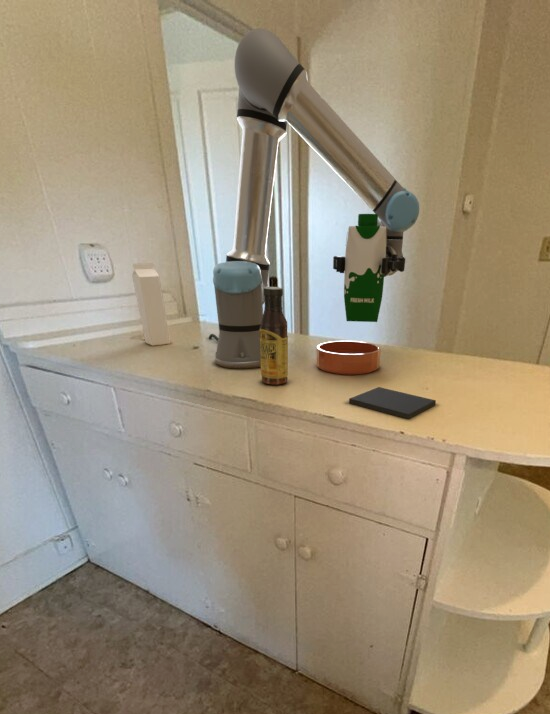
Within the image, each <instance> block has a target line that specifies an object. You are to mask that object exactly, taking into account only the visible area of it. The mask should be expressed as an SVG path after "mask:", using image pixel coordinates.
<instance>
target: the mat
mask: <svg viewBox="0 0 550 714" xmlns="http://www.w3.org/2000/svg"><path fill="white" fill-rule="evenodd" d="M436 402H437V400H436V399H431V398H427V397H423V396H420V395H414V394H411V393H406V392H402V391H398V390H394V389H389V388H385V387H381V386H378V387H375V388H372V389H370V390H367V391H364V392H362V393H360V394H357V395H354V396H352V397H349V399H348V403H349V404H351V405H354V406H359V407H361V408H366V409H369V410H374V411H375V412H376V411H377V412H380V413H384V414H388V415H392V416H395V417H398V418H403V419H406V420H409V419H412V418H413V417H415V416H417V415H419V414H421V413H423V412H425V411H426V410H429V409H430V408H432V407H434V406H436Z"/></svg>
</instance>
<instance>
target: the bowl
mask: <svg viewBox="0 0 550 714" xmlns="http://www.w3.org/2000/svg"><path fill="white" fill-rule="evenodd" d="M380 361H381V346H379V345H378V344H375V343H371V342H365V341H358V340H334V341H327V342H323V343H320V344H318V345H316V366H317V367H318V369H320V370H321V371H323V372H326V373H330V374H335V375H346V376H350V375H351V376H352V375H353V376H355V375H365V374H370V373H373V372H375V371H377V369H379V368H380V363H381V362H380Z"/></svg>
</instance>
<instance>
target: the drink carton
mask: <svg viewBox="0 0 550 714" xmlns="http://www.w3.org/2000/svg"><path fill="white" fill-rule="evenodd" d="M357 219H358V220H357V225H348V229H347V233H346V236H347V238H346V239H345V243H346V244H345V253H344V254H345V255H344V256H345V271H344V276H343V277H344V279H343V300H344V309H345V319H346V322H357V323H358V322H359V323H361V322H363V323H365V322H366V323H378V320H379V315H380V311H381V310H380V309H381V306H382V300H383V295H384V283H385V277H384V273H381V270H382V258H386V247H387V233H386V227H383V226H377V224H378V214H375V213H358V214H357Z"/></svg>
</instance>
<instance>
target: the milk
mask: <svg viewBox="0 0 550 714" xmlns="http://www.w3.org/2000/svg"><path fill="white" fill-rule="evenodd" d="M132 266H133V272H132V274H131V277H132V281H133V287H134V291H135V297H136V301H137V306H138V311H139V317H140V320H141V321H140V322H141V326H142V331H143V336H144V341H145V343H146V344H148V345H150V346H152V347H153V346H160V345H162V346H163V345H169V344H171V337H170V331H169V325H168V319H167V313H166V309H165V308H166V307H165V303H164V302H165V301H164V296H163V291H162V284H161V278H160V275H159V273H158V272H157V270H156V269H155V264H154V262H147V263H146V262H145V263H143V262H142V263H141V262H140V263H137V262H136V263H133V265H132Z"/></svg>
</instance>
